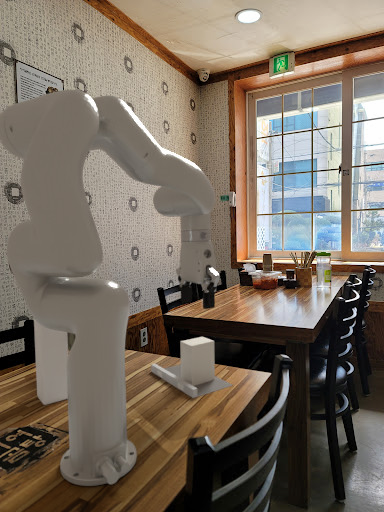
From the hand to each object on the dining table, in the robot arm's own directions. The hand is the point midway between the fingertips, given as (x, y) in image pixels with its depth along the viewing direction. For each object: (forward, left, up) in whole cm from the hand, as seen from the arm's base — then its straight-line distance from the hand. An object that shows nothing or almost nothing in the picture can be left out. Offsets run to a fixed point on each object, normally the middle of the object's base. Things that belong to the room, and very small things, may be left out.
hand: (197, 305), depth 93 cm
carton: (0, 0, -19) cm, 19 cm away
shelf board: (+2, +1, -21) cm, 21 cm away
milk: (+15, +32, -21) cm, 41 cm away
